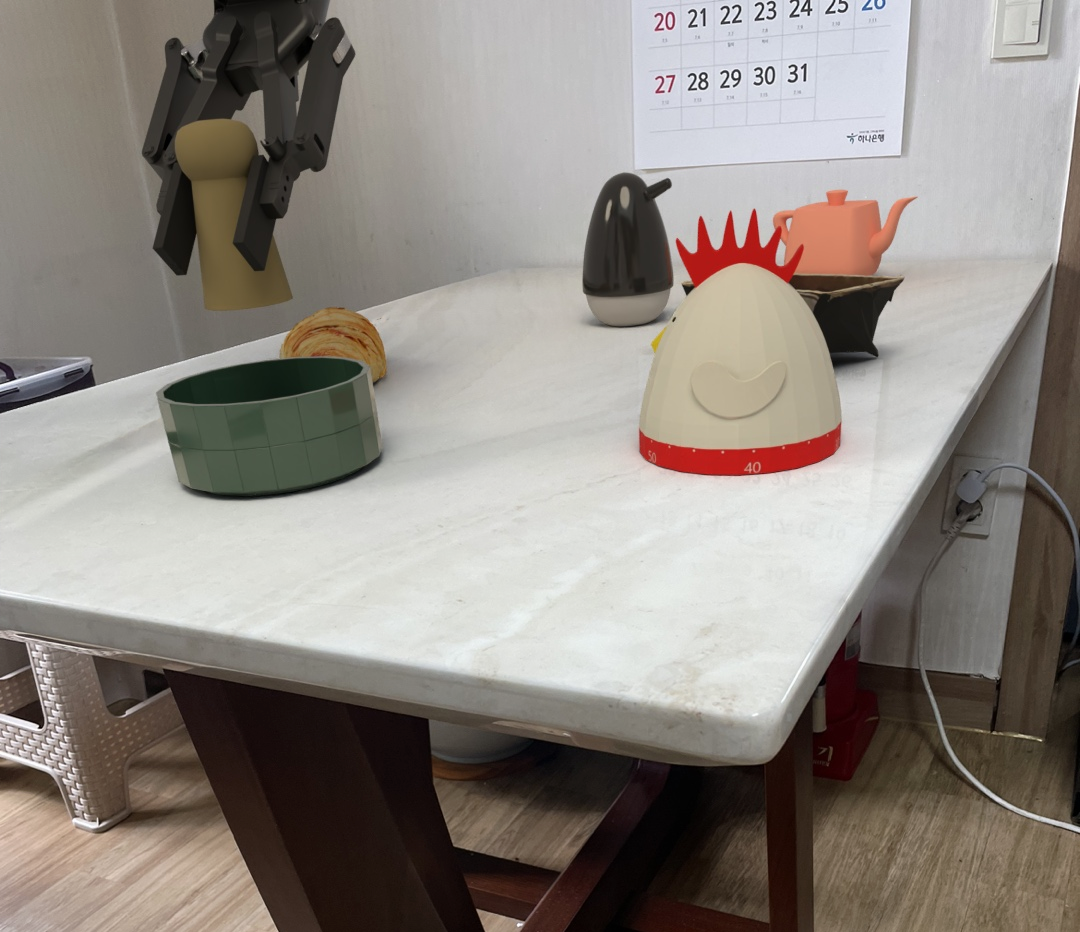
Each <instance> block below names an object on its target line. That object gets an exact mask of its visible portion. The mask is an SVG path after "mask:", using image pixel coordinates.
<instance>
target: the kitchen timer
mask: <svg viewBox="0 0 1080 932" xmlns="http://www.w3.org/2000/svg"><path fill="white" fill-rule="evenodd" d="M734 224H735V223H734V216H733V212H732V210H729V212H728V214H727V218H726V223H725V226H724V231H723V236H722V241H721V245H720V247H719V248H718V249H716V248H714V247H713V244H712V242H711V239H710V236H709V232H708V228H707V226H706V222H705V220H704V218H703V216H702V215H699V217H698V222H697V236H696V239H697V240H696V242H697V243H696V251H695V252H693V253H692V252H690V251H689V250H688V249H687V247H685V245H684V244H683V242H682V241H681V239H679V238H678V237H676V239H675V246H676V249H677V251H678V255H679V257H680V259H681V262H682V263H683V266H684V267H685V270H686V271H687V274H688V276H689V278H690V281H691V280H692V282H693V284H694V286H695V288H694V289H693V290H692V291H691V292H690V293H689V294H688V295H687V296H686V297H684V299H683V300H682V301H681V303H680V304H679V306H678V307H677V308H676V310H675V311H674V313H673V315H672V316H671V318H670V319H669V320H668V323H667V324H666V326H665V327H664V328H663V329H662V330H661V331H660V333H658V335H657V336H656V337H655V338H654V339H653V340H652V341H651V344H650V346H651V348H652V351H653V352H654V357H653V359H652V363H651V366H650V369H649V373H648V377H647V381H646V384H645V389H644V392H643V397H642V401H641V406H640V411H639V412H640V413H639V419H638V420H639V422H638V442H639V443H638V444H639V445H638V447H639V453H640V455H641V456H642V457H643V458H644V460H645V461H647V462H650V463H651V464H653V465H656V466H657V467H661V468H665V469H667V470H668V469H669V470H673V471H676V472H680V473H681V472H682V473H691V474H699V475H700V474H701V475H708V476H709V475H713V476H714V475H716V476H743V475H757V474H758V475H760V474H770V473H776V472H782V471H787V470H793V469H799V468H802V467H805V466H810V465H812V464H815V463H819V462H821V461H823V460H825V459H827V458H829V457H831V456H832V455H834V454H835V453H836V452H837V451H838V449H839V448H840V446H841V437H842V422H843V421H842V406H841V397H840V391H839V388H838V382H837V378H836V375H835V370H834V367H833V362H832V359H831V353H829V350H828V347H827V344H826V341H825V339H824V336H823V333H822V331H821V329H820V327H819V324H818V322H817V320H816V319H815V317H814V315H813V313H812V311H811V310H810V308H809V307H808V305H807V304H806V302H805V301H804V299H803V298H802V297H801V296H800V294H799V293H798V292H797V291H796V290H795V289H794V288H793V287H792V286H791V285H790V284H789V283H788V282H789V281H790V279H791V278H792V276H793V274H794V272H795V270H796V268H797V266H798V264H799V261H800V259H801V256H802V253H803V250H804V246H803V244H801V245H800V247H799V248H798V249H797V251H796V252H795V254H794V256H793V257H792V259H791V260H790V261H789V262H788V263H787V264H786V265H784V264H783V265H779V264H777V262H776V259H777V252H778V249H779V245H780V241H781V239H780V238H781V233H782V228H781V226H778V227H777V228H776V230H775V229H774V232H773V233H772V235H771V236H770V239H769V240H768V242H767V244H766V245H765V246H763V247H762V244H761V241H760V240H761V239H760V231H759V223H758V213H757V209H756V208H752V211H751V214H750V217H749V222H748V226H747V231H746V235H745V240H744V243H743V245H742V247H739V246H738V243H737V239H736V232H735V226H734Z"/></svg>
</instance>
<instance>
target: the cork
mask: <svg viewBox="0 0 1080 932" xmlns="http://www.w3.org/2000/svg"><path fill="white" fill-rule="evenodd" d="M175 153H176V157H177V161H178V163H179V165H180V167H181V169H182V171H183V172H184V174H185V175H186V176H187V177H188V178H189V179H190V180H191V183H192V193H193V202H194V212H195V221H196V231H197V234H196V239H197V248H198V249H197V250H198V257H199V259H198V260H199V268H200V277H201V285H202V286H201V287H202V296H203V304H204V310H206V311H211V312H227V311H228V312H229V311H243V310H251V309H258V308H264V307H270V306H274V305H280V304H283V303H287V302H289V301H291V300H293V299H294V296H293V293H292V290H291V286H290V283H289V279H288V277H287V274H286V270H285V268H284V264H283V261H282V258H281V255H280V252H279V248H278V245H277V242H276V239H275V235H273V236H272V240H271V245H270V249H269V253H268V258H267V262H266V267H265V271H254V270H253V269H252V268H251V266H250V265H249V264H248V262H247V261H246V260H245V259H244V257H243V256H242V255H241V253H240V252H239V251H238V250H237V248H236V247H235V246H234V244H233V239H234V234H235V230H236V226H237V222H238V217H239V213H240V209H241V205H242V200H243V196H244V192H245V188H246V183H247V179H248V175H249V171H250V166H251V162H252V158H253V156H255V155H260V154H259V153H260V152H259V146H258V142H257V139H256V137H255V135H254V132H253V131H252V130H251V128H250V127H249V126H248V124H246V123H244V122H242V121H240V120H236V119H211V120H201V121H196V122H193V123H190V124H188V125H186V126H183V127H181V128H180V129H179V130H178V131H177V135H176V138H175Z"/></svg>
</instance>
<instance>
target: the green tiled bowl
mask: <svg viewBox="0 0 1080 932" xmlns="http://www.w3.org/2000/svg"><path fill="white" fill-rule="evenodd" d="M374 389H375V388H374V382H372V375H371V369H370V366H369V365H367V364H366V363H365V362H364V361H360V360H356V359H351V358H346V357H329V356H317V357H293V358H282V359H280V358H272V359H264V360H263V359H262V360H257V361H250V362H244V363H238V364H237V363H236V364H232V365H227V366H223V367H217V368H213V369H209V370H205V371H204V370H203V371H201V372H197V373H194V374H191V375H187V376H184V377H181V378H178V379H176V380H174V381H172V382H169V383H166V384H165V385H164V386H162V387H161V388H160V389H159V390H157V391H156V393H155V394H156V400H157V404H158V407H159V411H160V415H161V420H162V424H163V427H164V430H165V434H166V438H167V442H168V445H169V450H170V453H171V457H172V461H173V466H174V468H175V473H176V476H177V480H178V482H179V483H180V484H182V485H184V486H186V487H188V488H190V489H192V490H198V491H203V492H206V493H209V494H214V495H219V496H228V497H257V496H271V495H280V494H285V493H292V492H299V491H303V490H307V489H312V488H317V487H321V486H323V485H328V484H330V483H333V482H336V481H339V480H341V479H344V478H347V477H348V476H351V475H352V474H355V473H356V472H358V471H359V470H361V469H363V467H365V466H367V465H369V464H370V463H372V461H374V460H375V459H377V458H378V457H380V455H381V452H382V449H383V440H382V439H383V438H382V434H381V427H380V421H379V414H378V408H377V401H376V395H375V390H374Z"/></svg>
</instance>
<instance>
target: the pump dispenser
mask: <svg viewBox="0 0 1080 932" xmlns="http://www.w3.org/2000/svg"><path fill="white" fill-rule="evenodd" d="M672 186H673V183H672V180H671V179H670V178H669V177H666V178H664V179H661V180H659V181H657V182H655V183H652V184H650V185H648V184H647V183H646V181H644V179H643V178H642V177H641V176H639V175H637V174H635V173H632V172H627V171H625V172H619V173H617V174H614V175H613V176H611V177H610V178H608V179H607V181H605V182H604V184H603V186H602V187H601V189H600V191H599V193H598V195H597V198H596V200H595V204H594V205H593V210H592V213H591V217H590V221H589V224H588V228H587V233H586V238H585V245H584V252H583V260H582V276H581V277H582V278H581V280H582V284H581V286H582V293H583V295H585V296H586V301H587V305H588V307H589V308H590V311H591V312H592V314H593V315H594V317H595V318H596V319H597V320H598V321H600V322H601V323H603V324H605V325H607V326H610V327H634V326H641V325H645V324H648V323H651V322H652V321H655V319H657V318H658V317H659V316H660V315H661V314H662V313H663V312H664V310H665V308H666V307H667V305H668V302H669V300H670V296H671V289H672V288H673V287H674V267H673V261H672V259H673V258H672V254H671V246H670V241H669V238H668V233H667V229H666V226H665V223H664V220H663V217H662V213H661V211H660V209H659V206H658V203H657V201H656V199H657V198H658V197H660V196H661V195H662V194H664V193H666V192H667V191H668V190H670V189H671V188H672Z"/></svg>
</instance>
